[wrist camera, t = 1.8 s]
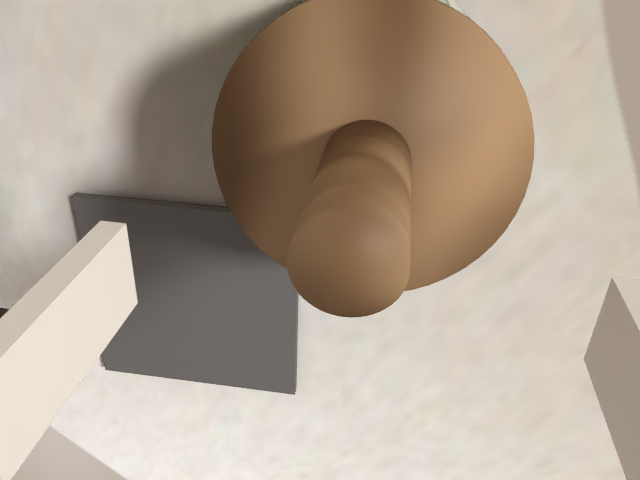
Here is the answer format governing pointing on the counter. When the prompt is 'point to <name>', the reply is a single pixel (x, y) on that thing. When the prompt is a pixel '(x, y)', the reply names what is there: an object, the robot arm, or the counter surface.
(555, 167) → the counter surface
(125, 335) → the mat
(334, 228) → the lid
